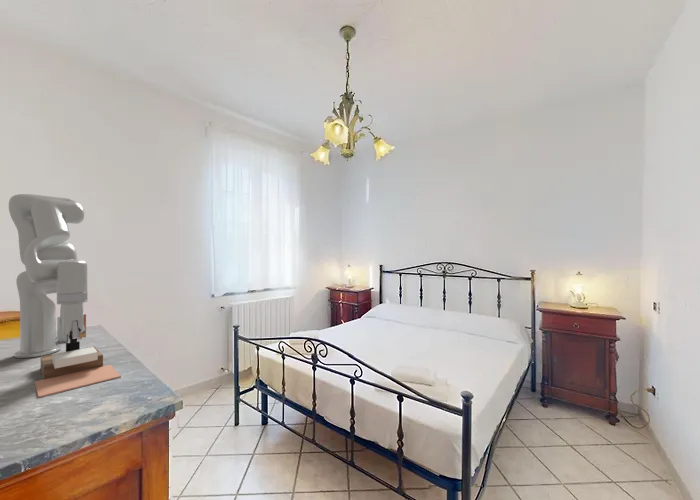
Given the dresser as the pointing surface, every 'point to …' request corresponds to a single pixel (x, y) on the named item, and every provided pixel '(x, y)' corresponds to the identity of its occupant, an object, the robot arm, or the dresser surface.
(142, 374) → the dresser surface
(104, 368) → the mat
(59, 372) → the block
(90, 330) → the dresser surface
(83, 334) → the small box
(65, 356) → the tile
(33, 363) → the dresser surface
